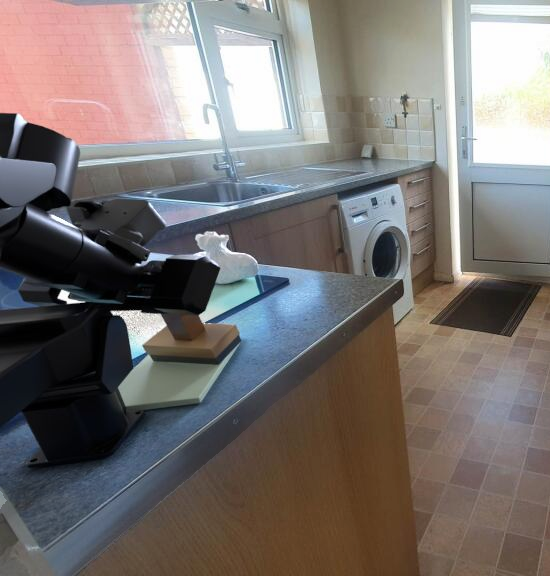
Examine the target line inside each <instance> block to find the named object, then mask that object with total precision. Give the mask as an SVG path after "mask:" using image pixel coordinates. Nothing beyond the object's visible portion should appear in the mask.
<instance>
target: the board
mask: <svg viewBox="0 0 550 576" xmlns="http://www.w3.org/2000/svg"><path fill="white" fill-rule="evenodd" d="M241 342H242V341H241ZM241 342H240V343H239V344H238V345H237V346H236V347H235V348H234V349H233V350H232V351H231V353H230V354H229V355H228V356H227V357H226V358H225V359H224V360H223V361H222V362H221V363H220V364H219V365H213V364H195V363H177V362H159V361H153V360H152V358H151V357H150V355H148V354H147V355H146V356H145V357H144V358H143V359H142V360H141V361H140V362H139V363H138V364H136V366H135V367H133V369H132V371H131V372H130V373H129V374H128V376H127V377H126V378H125V379H124V381H123V382H122V383H121V384H120V385H119V387H118V389H119V391H120V394H121V396H122V399H123V401H124V404H125V406H126V412H129V411H137V410H144V411H148V410H155V409H163V408H173V407H180V406H188V405H197V404H198V405H199V404H201V403H202V402H203V400H204V399H205V397H206V396H207V395H208V393H209V391H210V389H211V388H212V386H213V385H214V384H215V382H216V381H217V379H218V377H219V376H220V374H221V373H222V371H223V370H224V368H225V367H226V365H227V364H228V362H229V361H230V360H231V358H232V356H233V354H235V352H236V351H237V349H238V347H239V346H240V344H241Z"/></svg>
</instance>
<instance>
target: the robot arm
mask: <svg viewBox="0 0 550 576" xmlns="http://www.w3.org/2000/svg"><path fill="white" fill-rule="evenodd" d="M80 157H81V148H80V147H79V145H78V144H77V142H76V141H74V140H73V139H72V138H70V137H67V136H65V135H64V134H62V133H60V132H58V131H56V130H54V129H51V128H48V127H46V126H43V125H40V124H36V123H33V122H28V121H26V120H25V119H24V118H23V117H22V115H21V114H20V113H17V112H0V269H1V270H4V271H6V272H8V273H12V274H15V275H17V276H20V277H23V280H22V281H21V283H20V285H19V287H18V288H17V292H18V294H19V295H20V298H21V299H22V301H23V302H25V303H28V304H31V305H35V306H28V307H16V308H6V309H0V429H2V428H3V427H4V426H6V424H8V423H9V422H10V421H11V420H13V419H14V418H15V417H16V416H18V414H20V413H21V415H22V416H23V418H24V420H25V422H26V424H27V425H28V427H29V429H30V431H31V433H32V436H33V437H34V439H35V441H36V442H37V443H36V444H38V446H39V450H37V451H36V452H35V453H34V454H33V455H32V456H31V457H30V458H29V459H28V460H27V461H26V462H25V465H26V466H27V468H28V469H34V468H35V469H36V468H41V467H49V466H56V465H63V464H71V463H76V462H83V461H90V460H91V461H92V460H98V459H105V458H108V457H110V456H112V455H114V453H115V452H116V451H117V450H118V449H119V448H120V446H122V444H123V443H124V441H125V440H126V439H127V438H128V436H129V435H130V434H131V433H132V432H133V431H134V429H135V428H136V427H137V425H138V424H139V423H141V421H142V420H143V419H144V417H145V415H146V413H145V410H137V411H129V412H126V406H125V404H124V401H123V399H122V396H121V394H120V391H119V389H118V387H119V385H120V384H121V383H122V382H123V381H124V379H125V378H126V377H127V376H128V374H129V373H130V372H131V371H132V370H133V369H134V363H133V355H132V349H131V342H130V335H129V330H128V325H127V323H126V321H125V319H124V318H123V317H122V316H121V315H118V314H114V313H113V312H134V311H135V312H136V311H140V313H141V314H153V315H161V314H167V313H172V314H179V315H198V316H199V317H200V315H202V314H203V313H205V312H206V311H207V307H208V305H209V301H210V299H211V297H212V293H213V292H214V288H215V285H216V283H215V282H216V280H217V277H218V274H219V271H220V268H221V267H220V266H219V264H218V263H217V262H215V261H213V260H212V259H210V258H208V257H207V256H199V255H194V254H173V255H170V256H168V257H166V258H165V260H159V259H158V260H156V259H154V260H153V259H152V260H149V257H150V255H151V250H149V249H147V248H146V247H144V246H146V245H147V244H148V243H149V242H150V241H151V240H152V239H153V238H155V236H156V235H157V234H158V233H159V232H160V231H163V230H164V229H165V228H166V227H167V225H168V224H167V222H166V221H165V220H164V218H163V217H162V216H161V215H160V214H159V212H158V211H157V210H156V209H155V207H154V206H153V204H151V203H150V201H149V200H147V199H139V198H137V199H136V198H113V199H110V200H106V199H104V200H103V199H102V200H101V201H100V202H96V201H94V200H90V199H89V200H87V199H75V200H73V194H74V189H75V184H76V179H77V172H78V170H79V169H78V168H79V162H80ZM72 200H73V201H72ZM63 207H65V208H66V212H67V215H68V217H69V220H70V222H71V223H70V222H69V221H65V220H64V219H62V218H60V217H57V216H56V215H54V214H51V213H50V211H51V210H55V209H60V208H63ZM148 260H149V261H148ZM147 261H148V262H147ZM144 262H146V263H145V264H144V265H142V263H144ZM146 273H148V274H146ZM62 291H63V292H67V293H68V295H67V299H69V300H73V301H77V302H71V303H68V301H67V300H65V299H61V298H59V296H60V294H61V292H62Z"/></svg>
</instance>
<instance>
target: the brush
mask: <svg viewBox="0 0 550 576" xmlns="http://www.w3.org/2000/svg"><path fill="white" fill-rule="evenodd" d="M146 274H148V273H146ZM160 316H161V318H162V320H163V322H164V323H165V326H164V327H163V328H162V329H160V330H159V331H158V332H156V333H155V334H154V335H152V336H151V337H150V338H149V339H147V340H146V341H145V342H144V343H142V344H141V347H142V348H143V350H144V351H145V354H147V355H150V357H151V358H152V360H153V361H159V362H177V363H195V364H213V365H219V364H220V363H221V362H222V361H223V360H224V359H225V358H226V357H227V356H228V355H229V354H230V353H231V351H232V350H233V349H234V348H235V347H236V346H237V345H238V344H239V343H240V342H242V338H241V335H240V334H241V332H240V331H239V329H238V326H237V324H234V323H233V324H231V323H211V322H210V323H209V322H203V320H202V319H201V316H200V315H199V316H198V315H179V314H172V313H167V314H160ZM240 344H241V343H240ZM240 344H239V345H240Z"/></svg>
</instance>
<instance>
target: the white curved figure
mask: <svg viewBox="0 0 550 576" xmlns="http://www.w3.org/2000/svg"><path fill="white" fill-rule="evenodd" d="M229 237H230V235H228V234H220V235H219V234H218V233H217V232H216V231H209V230H207V231H205V232H204V233H203V234H202V233H197V234H196V235H195V238H194V240H195V241H196V242H197V244H196V246H198V248H199V249H200V250H202V251H199V252H196V253H193V255H199V256H207V257H208V258H210V259H212V260H213V261H215V262H217V263H218V264H219V266H220V267H221V268H220V271H219V274H218V277H217V280H216V282H215V284H219V285H225V284H226V285H227V284H231V283H235V282H238V281H241V280H245V279H251V278H255V277H256V276H257V275H258V274H259V269H260V268H259V264H258V261H257V260H256V259H255V258H254V257H253V256H252V255H250V254H247V253H244V252H233V251H231V250H229V248H228V247H227V243H228V241H230V238H229Z"/></svg>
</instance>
